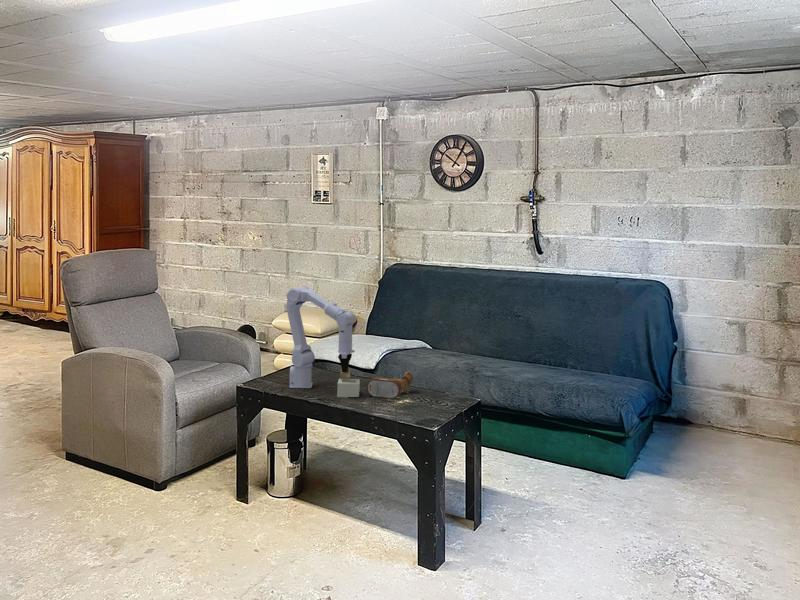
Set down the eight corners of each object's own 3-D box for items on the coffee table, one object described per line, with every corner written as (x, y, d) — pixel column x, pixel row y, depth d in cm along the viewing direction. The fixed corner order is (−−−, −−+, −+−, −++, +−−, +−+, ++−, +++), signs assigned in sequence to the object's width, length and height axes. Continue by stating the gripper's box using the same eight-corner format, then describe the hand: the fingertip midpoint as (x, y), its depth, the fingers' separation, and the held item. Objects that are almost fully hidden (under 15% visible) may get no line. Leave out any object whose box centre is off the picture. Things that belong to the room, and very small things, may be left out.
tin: (401, 398, 298) (402, 379, 297) (399, 400, 295) (400, 380, 294) (367, 395, 302) (368, 375, 301) (365, 396, 299) (366, 377, 298)
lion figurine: (407, 389, 312) (408, 369, 311) (415, 392, 308) (416, 372, 307) (381, 394, 303) (382, 374, 302) (389, 397, 299) (390, 376, 298)
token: (340, 378, 301) (340, 369, 301) (340, 377, 303) (340, 368, 303) (349, 378, 301) (349, 369, 301) (349, 377, 303) (350, 368, 303)
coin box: (337, 397, 296) (337, 383, 296) (338, 392, 304) (338, 378, 304) (358, 397, 297) (358, 383, 296) (359, 392, 304) (359, 379, 304)
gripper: (354, 343, 293) (353, 375, 295) (355, 337, 307) (355, 367, 309) (337, 343, 293) (336, 375, 295) (339, 337, 307) (339, 367, 309)
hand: (344, 371), depth 302 cm, fingers closed on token, 2 cm apart
